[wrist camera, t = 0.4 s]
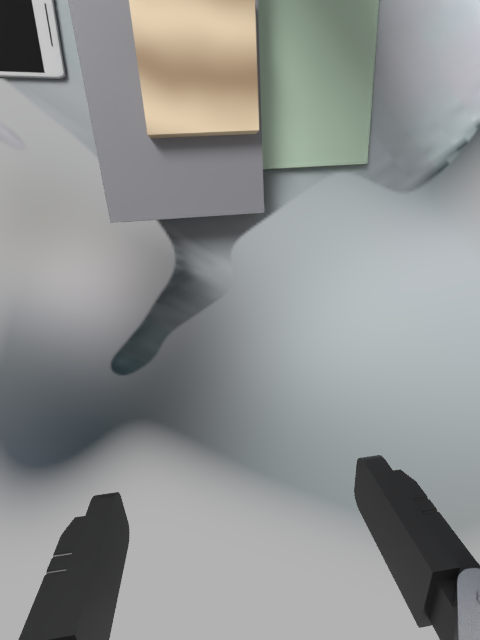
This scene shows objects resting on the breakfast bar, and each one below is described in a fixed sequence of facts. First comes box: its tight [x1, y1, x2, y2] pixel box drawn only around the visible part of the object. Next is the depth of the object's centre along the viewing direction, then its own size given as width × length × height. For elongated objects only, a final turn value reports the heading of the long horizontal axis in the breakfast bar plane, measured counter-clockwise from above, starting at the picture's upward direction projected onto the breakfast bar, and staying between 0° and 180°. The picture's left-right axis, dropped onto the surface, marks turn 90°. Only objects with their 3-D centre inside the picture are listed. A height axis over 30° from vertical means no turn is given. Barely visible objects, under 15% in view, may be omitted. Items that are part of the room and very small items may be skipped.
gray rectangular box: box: [68, 0, 264, 223], centre depth 27 cm, size 22×14×4 cm, turn 3°
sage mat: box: [258, 0, 379, 170], centre depth 30 cm, size 16×11×1 cm
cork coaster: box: [129, 0, 259, 138], centre depth 25 cm, size 9×9×2 cm
